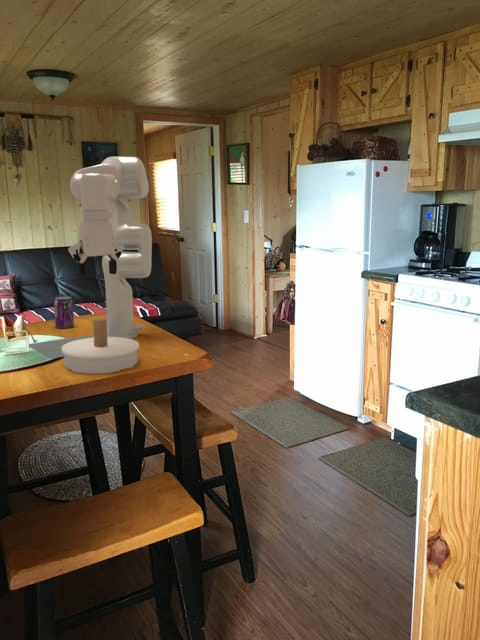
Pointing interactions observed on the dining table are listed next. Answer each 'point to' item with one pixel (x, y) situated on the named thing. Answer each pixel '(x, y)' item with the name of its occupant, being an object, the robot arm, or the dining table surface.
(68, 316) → the beverage can
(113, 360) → the dish
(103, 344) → the lid
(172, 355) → the dining table surface
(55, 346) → the mat
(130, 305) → the robot arm
